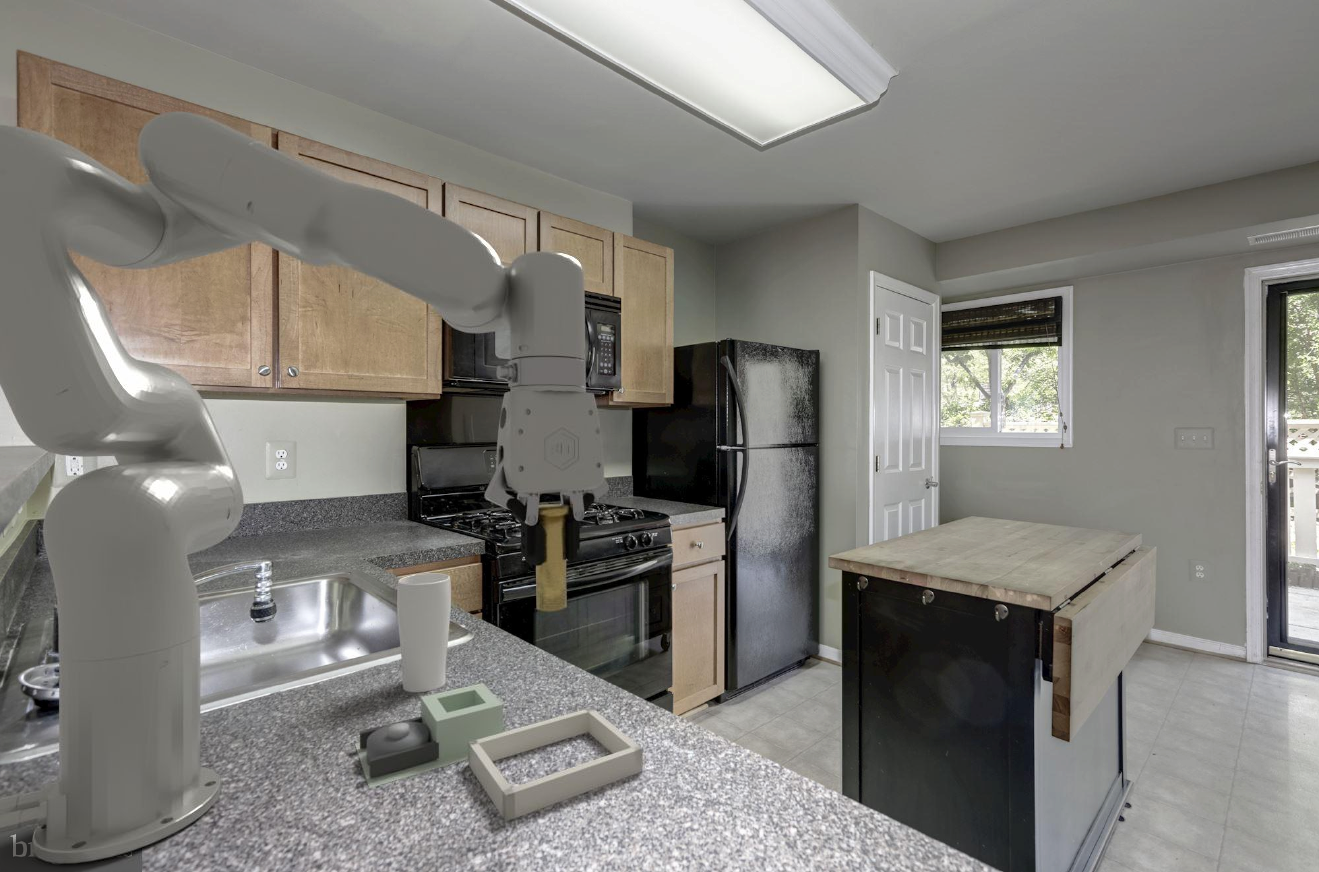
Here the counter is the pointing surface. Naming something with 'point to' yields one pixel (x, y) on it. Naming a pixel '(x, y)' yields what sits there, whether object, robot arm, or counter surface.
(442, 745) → the green socket holder
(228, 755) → the counter surface
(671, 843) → the counter surface
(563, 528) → the pin
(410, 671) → the drinking glass
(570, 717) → the tray
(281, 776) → the counter surface
